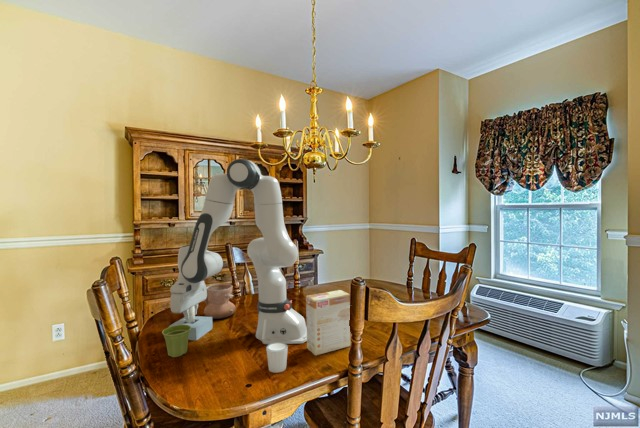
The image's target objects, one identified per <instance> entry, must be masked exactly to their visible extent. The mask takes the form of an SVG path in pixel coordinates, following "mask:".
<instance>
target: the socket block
mask: <svg viewBox="0 0 640 428" xmlns="http://www.w3.org/2000/svg"><path fill="white" fill-rule="evenodd" d="M176 325H189V326H191V330H190V332H189V336H188V341H198V340H199V339H200V338H202V337H203V336H205V335H206V334H207V333H209V332H210V331H212V330H213V326H214V325H213V319H212V317H207V316H200V315H197V316H196V315H195V323H193V324H189V323H186V319H184V317H182V318H181V319H179V320H177V321H175V322H174V323H172V324H170V325H168V327H171V326H176Z"/></svg>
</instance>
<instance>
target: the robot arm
mask: <svg viewBox="0 0 640 428" xmlns="http://www.w3.org/2000/svg"><path fill="white" fill-rule="evenodd" d="M209 180H210V181H209V183H208V186H207V189H206V193H205V196H204V203H203V207H202V210H201V212H200V214H199V216H198V218H197V220H196V223H195V226H194V229H193V233H192V235H191V240H190V243H189V244H187V245H186V244H185V245H183V246H182V245H181V246H180V248H179V250H178V254H177V268H178V276H177V280H176V282H174V284H173V285H171V287H170V288H169V293H171V295H170V301H169V302H170V311H171V313H172V314H181V313H183V318H184V319H189V318H190V314H189V312H188V311H189V308H191V307H192V306H194V305H195V316H196V315H197V313H198V308H199V303H202V302H203V301H205V299H206V298H207V289H206V287H207V285H206V283H205V280H206V279H208V278H211V277H212V276H213V277H214V276H216V275H217V274H219V273H220V272H222V270H223V267H224V260H223V258H222V256H221V255H220V254H219V253H218V252H214V251H211V250H208V247H209V242H210V239H211V236H212V235H213V233H214V231H216V230H217V229H218V228H219V227H221V226H222V225H223V224H225V223H226V222H228V221H229V220H230V217H231V215H232V213H233V211H234V210H233V209H234V204H235V199H236V193H238V191H239V190H250V191H251V193H252V194H253V204H254V205H253V207H254V216H255V217H254V220H255V225H256V227H257V228H258V229H259V231H260V232H261V233H260V234H262V237H258V238H254V239H252V240H251V241H250V242H249V243H248V246H247V249H246V252H247V256H248V258H249V259H250V261H251V262H252V264H253V267H254V270H255V275H256V278H257V286H258V287H257V288H258V300H257V314H258V318H257V319H258V320H257V327H256V331H255V338H256V339H258V340H259V341H260V342H262V344H263V345H269V344H271V343H276V342H282V343H285V344H287V345H290V344H291V345H292V344H304V343H305V342H306V343H307V322H306V318H304V316H302V314H300V313H299V312H297V311H296V309H295V310H294V309H293V308H292V303H293V302H292V301H293V300H292V299H291V300H290V299H288V298H287V280H286V278H285V276H284V275H283V273H282V272H281V271H282V270H281V269H280V268H290V267H292V266H294V264H295V263H296V262H297V260H298V257H299V250H298V247H297V245H296V244H295V243H294V242H293V240H292V239H291V238H290V236H289V234H288V230H287V228H286V224H285V218H284V209H283V207H284V206H283V197H282V191H281V186H280V183H279V180H278V179H277V178H276V177H273V176H271V175H263V172H262V170H261V168H260V166H259V165H257V164H256V163H255V162H253V160H252V161H251V160H249V159H245V158H237V159H234V160H232V161H231V162H230V163H229V164H228V166H227V167H226V173H225V172H224V173H223V172H221V173H220V172H219V173H216V174H214V175H212V176H211V178H210V179H209Z"/></svg>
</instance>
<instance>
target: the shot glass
mask: <svg viewBox="0 0 640 428" xmlns="http://www.w3.org/2000/svg"><path fill="white" fill-rule="evenodd" d="M288 349H289V347H288V344H285V343H282V342H276V343H271V344H267V345H266V356H267V357H266V358H267V367H268V371H269V372H271V373H275V374H276V373H282V372H284V371H286V369H287V364H288V363H287V362H288V361H287V360H288Z"/></svg>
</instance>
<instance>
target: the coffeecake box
mask: <svg viewBox="0 0 640 428" xmlns="http://www.w3.org/2000/svg"><path fill="white" fill-rule="evenodd" d="M350 296H351V295H350V293H348V292H346V291H344V290H342V289H337V290H331V291H326V292H322V293H321V292H320V293H315V294H309V295H308V294H307V295H306V296H305V303H306V304H305V309H306V312H305V313H306V316H305V317H306V318H305V319H306V327H307V341H306V348H307V350H308V351H309V352H311V353H312V354H313V355H314V356H320V355H322V354H326V353H330V352H334V351H336V350H340V349H345V348H349V347H352V346H351V332H350V326H349V320H350V306H351V305H350V304H351V299H350V298H351V297H350Z"/></svg>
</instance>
